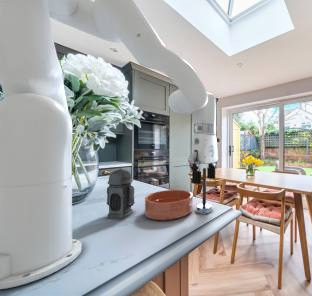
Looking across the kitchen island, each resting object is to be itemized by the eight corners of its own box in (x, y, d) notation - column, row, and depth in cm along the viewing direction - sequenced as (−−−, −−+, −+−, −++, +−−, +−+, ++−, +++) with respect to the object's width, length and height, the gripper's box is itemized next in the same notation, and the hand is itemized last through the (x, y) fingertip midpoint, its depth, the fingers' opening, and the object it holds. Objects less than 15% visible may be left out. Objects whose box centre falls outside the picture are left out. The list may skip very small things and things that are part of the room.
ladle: (206, 215, 55) (206, 169, 55) (193, 212, 57) (193, 168, 57) (214, 209, 60) (214, 167, 59) (202, 207, 62) (202, 166, 62)
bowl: (170, 226, 47) (170, 206, 47) (134, 215, 54) (134, 198, 54) (200, 208, 61) (201, 193, 61) (169, 201, 67) (169, 188, 67)
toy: (139, 211, 57) (139, 167, 57) (127, 219, 51) (127, 170, 51) (115, 210, 58) (115, 167, 57) (101, 217, 52) (101, 169, 52)
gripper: (199, 127, 48) (199, 187, 49) (225, 132, 64) (225, 177, 64) (179, 128, 52) (178, 184, 52) (208, 132, 67) (208, 175, 68)
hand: (204, 180), depth 58 cm, fingers open, 8 cm apart
